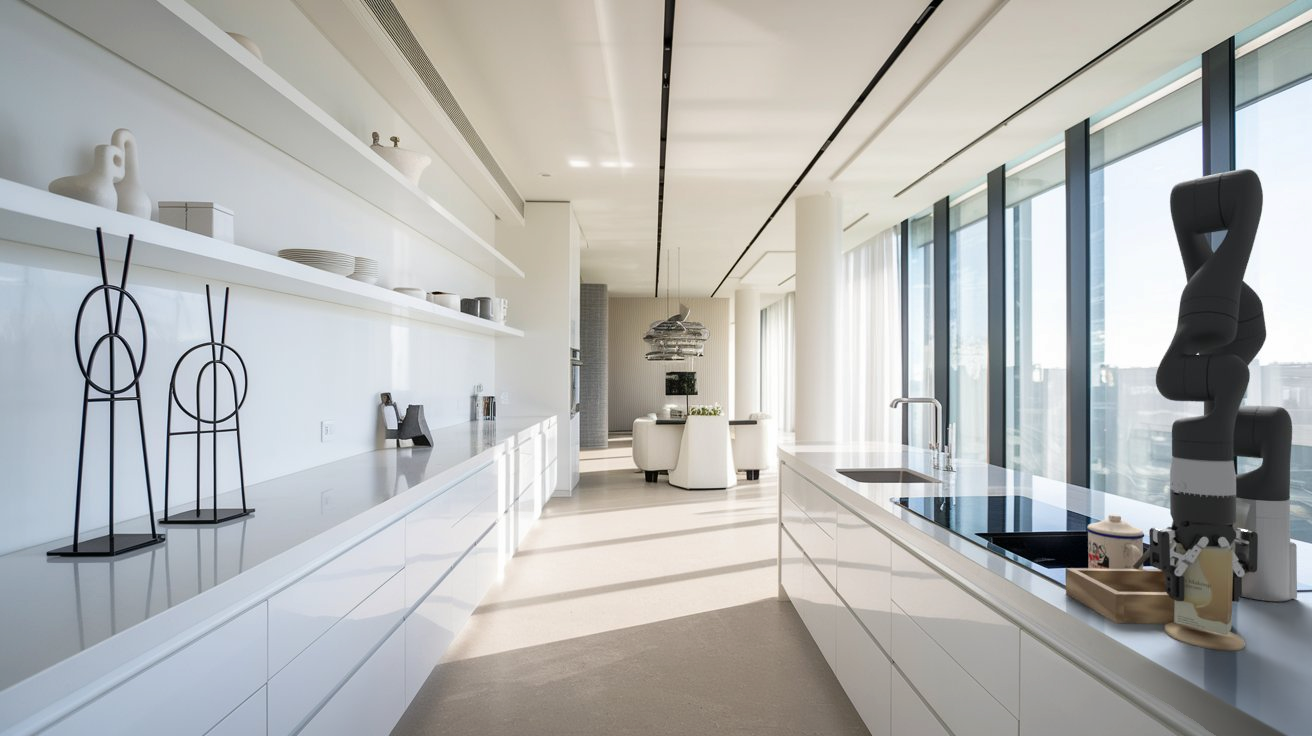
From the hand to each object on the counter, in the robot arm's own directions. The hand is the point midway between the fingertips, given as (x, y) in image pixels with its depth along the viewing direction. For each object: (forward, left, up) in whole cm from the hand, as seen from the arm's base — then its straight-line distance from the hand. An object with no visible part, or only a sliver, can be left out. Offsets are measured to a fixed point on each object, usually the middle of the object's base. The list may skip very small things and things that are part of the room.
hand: (1203, 599), depth 96 cm
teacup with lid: (-6, -28, -6) cm, 29 cm away
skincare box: (0, 0, -4) cm, 4 cm away
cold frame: (-1, -12, -6) cm, 14 cm away
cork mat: (0, 0, -6) cm, 6 cm away
